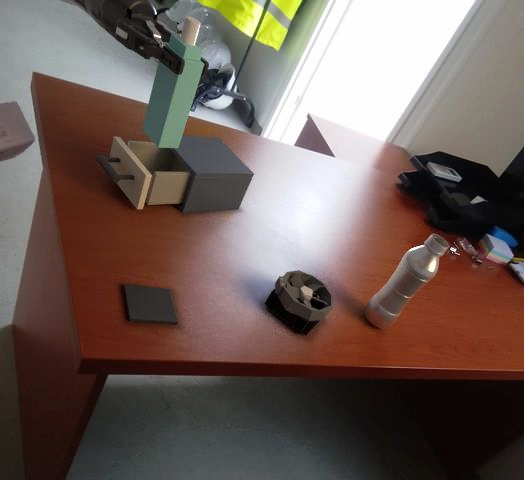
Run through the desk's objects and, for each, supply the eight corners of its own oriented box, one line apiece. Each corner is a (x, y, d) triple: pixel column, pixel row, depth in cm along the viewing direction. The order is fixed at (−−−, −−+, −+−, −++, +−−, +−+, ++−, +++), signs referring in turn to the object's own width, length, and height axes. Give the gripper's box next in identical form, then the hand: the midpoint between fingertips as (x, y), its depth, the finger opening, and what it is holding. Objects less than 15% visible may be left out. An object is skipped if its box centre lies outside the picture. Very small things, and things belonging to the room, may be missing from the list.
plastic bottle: (371, 333, 87) (440, 252, 74) (354, 307, 91) (417, 226, 77) (394, 332, 91) (463, 255, 78) (376, 307, 94) (440, 229, 81)
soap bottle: (158, 147, 76) (192, 25, 64) (141, 130, 78) (171, 7, 66) (178, 148, 79) (214, 31, 67) (161, 131, 81) (194, 14, 68)
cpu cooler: (343, 296, 81) (320, 320, 73) (327, 318, 84) (304, 342, 77) (297, 261, 82) (270, 281, 74) (284, 284, 86) (257, 305, 78)
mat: (128, 321, 64) (129, 318, 64) (123, 286, 68) (124, 283, 68) (176, 324, 67) (178, 322, 67) (169, 291, 71) (170, 289, 71)
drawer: (115, 210, 78) (123, 175, 73) (85, 170, 82) (91, 134, 77) (197, 206, 89) (209, 175, 85) (167, 171, 93) (177, 140, 89)
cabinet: (182, 213, 87) (196, 173, 82) (149, 173, 92) (160, 133, 86) (238, 209, 97) (254, 173, 91) (206, 173, 101) (219, 137, 96)
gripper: (86, -26, 65) (167, 37, 61) (159, -8, 75) (232, 47, 72) (78, 31, 70) (153, 93, 66) (148, 41, 80) (216, 95, 77)
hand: (194, 69), depth 69 cm, fingers closed on soap bottle, 5 cm apart
